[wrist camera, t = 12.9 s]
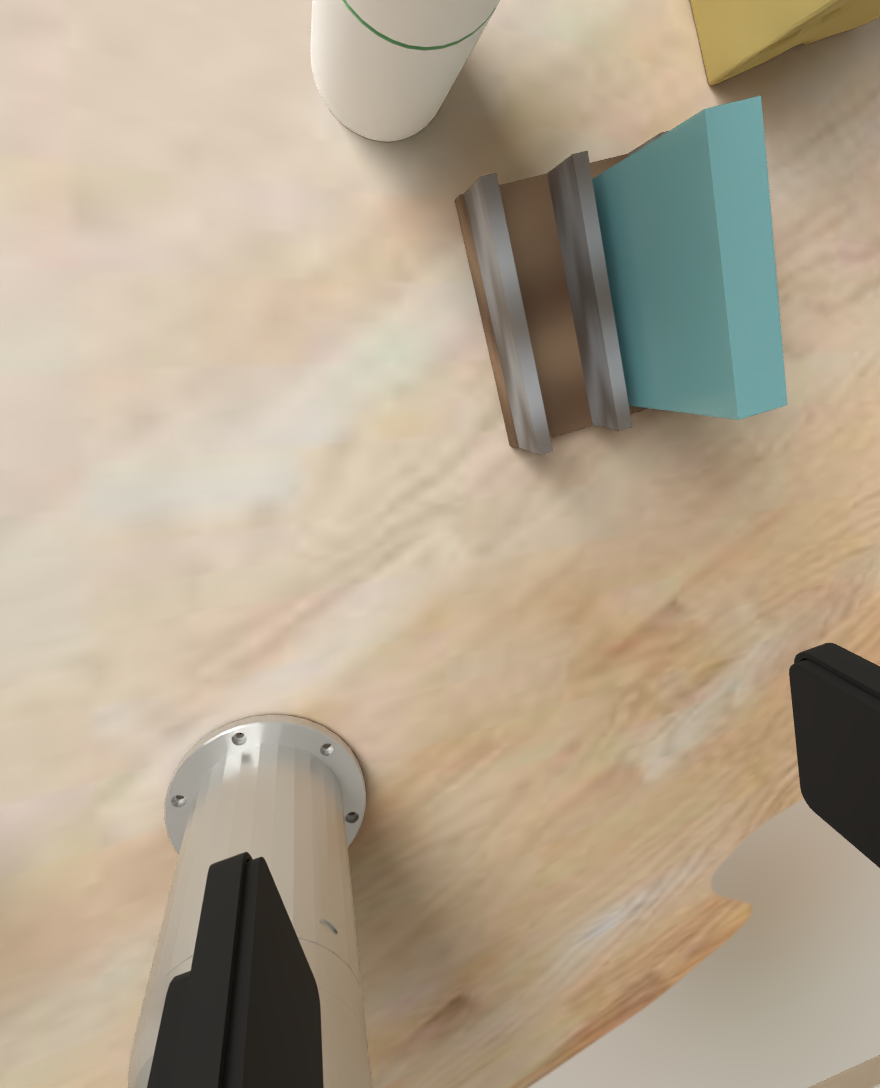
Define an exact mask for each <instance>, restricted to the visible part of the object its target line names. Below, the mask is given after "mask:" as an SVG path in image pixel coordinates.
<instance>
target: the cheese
mask: <svg viewBox="0 0 880 1088" xmlns="http://www.w3.org/2000/svg"><path fill="white" fill-rule="evenodd" d="M690 3H691V7H692V11H693V16H694V20H695V24H696V29H697V33H698V38H699V42H700V47H701V51H702V56H703V60H704V65H705V69H706V74H707V79H708V83H709V85H715V84H718V83H720V82H722V81H725V80H727V79H729V78H731V77H733V76H736V75H738V74H740V73H742V72H744V71H747V70H749V69H751V68H753V67H755V66H757V65H760V64H762V63H764V62H766V61H768V60H770V59H772V58H774V57H776V56H777V55H779V54H781V53H783V52H785V51H787V50H788V49H790V48H792V47H794V46H796V45H798V44H801V43H803V44H809V43H813V42H815V41H818V40H821V39H823V38H826V37H829V36H832V35H835V34H838V33H841V32H845V31H848V30H851V29H854V28H856V27H859V26H862V25H864V24H866V23H869V22H871V21H873V20H875V19H877V18H878V17H880V0H690Z"/></svg>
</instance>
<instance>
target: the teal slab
mask: <svg viewBox="0 0 880 1088" xmlns="http://www.w3.org/2000/svg"><path fill="white" fill-rule="evenodd" d="M592 182H593V188H594V194H595V200H596V206H597V213H598V219H599V225H600V231H601V237H602V243H603V249H604V256H605V262H606V268H607V274H608V280H609V286H610V293H611V299H612V305H613V311H614V317H615V323H616V329H617V336H618V342H619V348H620V354H621V360H622V366H623V372H624V379H625V385H626V391H627V397H628V403H629V406H636V407H644V408H651V409H659V410H667V411H674V412H682V413H690V414H697V415H705V416H713V417H721V418H728V419H736V420H740V419H743V418H746V417H749V416H753V415H756V414H759V413H762V412H766V411H769V410H772V409H776V408H779V407H782V406H785V405H787V395H786V383H785V372H784V360H783V348H782V336H781V325H780V313H779V301H778V289H777V278H776V266H775V254H774V242H773V231H772V219H771V207H770V195H769V183H768V172H767V160H766V148H765V136H764V125H763V113H762V101H761V96H757V97H753V98H749V99H745V100H740V101H736V102H732V103H728V104H724V105H719V106H715V107H711V108H707V109H704V110H702V111H701V112H699V113H697V114H696V115H694V116H693V117H691V118H689V119H688V120H686V121H685V122H683V123H681V124H680V125H678V126H677V127H675V128H673V129H672V130H670V131H669V132H667V133H665V134H664V135H662V136H661V137H659V138H657V139H656V140H654V141H653V142H651V143H649V144H648V145H646V146H645V147H643V148H641V149H640V150H638V151H637V152H635V153H633V154H632V155H630V156H629V157H627V158H625V159H624V160H622V161H621V162H619V163H617V164H616V165H614V166H613V167H611V168H609V169H608V170H606V171H605V172H603V173H601V174H600V175H598V176H597V177H595V178H593V179H592Z"/></svg>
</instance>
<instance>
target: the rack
mask: <svg viewBox="0 0 880 1088" xmlns="http://www.w3.org/2000/svg"><path fill="white" fill-rule="evenodd" d="M667 132H669V131H666V132H662V133H660V134H658V135H657V136H655V137H653V138H652V139H650V140H649V141H647V142H646V143H644V144H642V145H641V146H639V147H638V148H636V149H635V150H633V151H631V152H630V153H628V154H625V155H621V156H617V157H613V158H609V159H605V160H601V161H597V162H592V163H589V157H588V151H584V152H580V153H576V154H572V155H571V156H570V157H568V158H567V159H566V160H564V161H563V162H562V163H560V164H559V165H558V166H556V167H555V168H554V169H553V170H551V171H550V172H549V173H547V174H544V175H540V176H536V177H532V178H527V179H523V180H519V181H515V182H511V183H507V184H503V185H499V184H498V179H497V174H496V173H494V174H490V175H486V176H481V177H480V178H479V179H478V180H477V181H476V182H475V183H474V184H473V185H472V186H471V187H470V188H469V189H468V190H467V191H466V192H465V193H464V194H463V195H460V196H459V197H458V198H457V199H456V200H455V203H456V207H457V212H458V216H459V221H460V225H461V230H462V234H463V239H464V243H465V248H466V252H467V257H468V261H469V265H470V270H471V274H472V279H473V283H474V288H475V292H476V297H477V301H478V306H479V310H480V315H481V319H482V324H483V328H484V332H485V337H486V341H487V346H488V350H489V355H490V359H491V364H492V368H493V373H494V377H495V382H496V386H497V391H498V395H499V400H500V404H501V408H502V413H503V417H504V422H505V426H506V431H507V435H508V440H509V444H510V446H512V447H514V448H518V447H520V448H522V449H525V450H527V451H530V452H533V453H535V454H538V455H541V454H545V453H548V452H551V451H553V449H552V444H551V439H550V438H552V437H555V436H558V435H562V434H565V433H568V432H572V431H575V430H578V429H582V428H585V427H588V426H592V425H594V426H599V427H603V428H608V429H613V430H617V431H621V430H624V429H627V428H631V427H632V422H631V415H630V414H632V413H635V412H639V411H642V410H645V409H649V408H644V407H636V406H629V403H628V397H627V391H626V385H625V379H624V372H623V366H622V360H621V354H620V348H619V342H618V336H617V329H616V323H615V317H614V311H613V305H612V299H611V293H610V286H609V280H608V274H607V268H606V262H605V256H604V249H603V243H602V237H601V231H600V225H599V219H598V213H597V206H596V200H595V194H594V188H593V182H592V179H593V178H595V177H597V176H598V175H600V174H601V173H603V172H605V171H606V170H608V169H609V168H611V167H613V166H614V165H616V164H617V163H619V162H621V161H622V160H624V159H625V158H627V157H629V156H630V155H632V154H633V153H635V152H637V151H638V150H640V149H641V148H643V147H645V146H646V145H648V144H649V143H651V142H653V141H654V140H656V139H657V138H659V137H661V136H662V135H664V134H665V133H667Z"/></svg>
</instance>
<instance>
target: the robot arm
mask: <svg viewBox="0 0 880 1088" xmlns="http://www.w3.org/2000/svg"><path fill="white" fill-rule="evenodd" d="M789 676H790V686H791V696H792V706H793V717H794V727H795V737H796V747H797V757H798V767H799V778H800V788H801V792H802V795H803V797H804V799H805V801H806V803H807V804H808V805H809V807H810V808H811V809H812V810H813V811H814V812H815V813H816V814H817V815H818V816H820V817H821V818H822V819H823V820H824V821H825V822H827V823H828V824H829V825H830V826H831V827H832V828H834V829H835V830H836V831H837V832H838V833H840V834H841V835H842V836H843V837H844V838H845V839H847V840H848V841H849V842H850V843H851V844H852V845H854V846H855V847H856V848H857V849H858V850H859V851H861V852H862V853H863V854H864V855H865V856H866V857H868V858H869V859H870V860H871V861H872V862H873V863H875V864H876V865H877V866H878V867H879V868H880V667H879V666H877V665H876V664H874V663H872V662H870V661H868V660H866V659H864V658H862V657H860V656H858V655H856V654H854V653H852V652H850V651H848V650H846V649H844V648H842V647H840V646H838V645H836V644H833V643H825V644H823V645H820V646H817V647H814V648H811V649H809V650H806V651H803V652H800V653H799V654H797V655H796V657H795V660H794V664H793V665H792V666H791V667H790V669H789ZM237 733H243V734H237ZM324 744H328V745H324ZM365 808H366V789H365V783H364V777H363V773H362V771H361V768H360V765H359V762H358V760H357V758H356V757H355V755H354V754H353V752H352V751H351V749H350V748H349V747H348V745H347V744H346V743H345V742H344V741H343V740H342V739H341V738H340V737H339V736H337V735H336V734H334V733H333V732H331V731H330V730H328V729H327V728H325V727H324V726H321V725H319V724H317V723H314V722H312V721H310V720H307V719H303V718H298V717H294V716H289V715H262V716H254V717H248V718H245V719H241V720H238V721H235V722H231V723H229V724H227V725H225V726H223V727H221V728H219V729H217V730H215V731H213V732H211V733H210V734H209V735H207V736H206V737H204V738H203V739H202V740H200V741H199V742H198V743H197V744H196V745H195V746H194V747H193V748H192V749H191V750H190V751H189V752H188V753H187V754H186V755H185V756H184V758H183V759H182V761H181V762H180V764H179V765H178V767H177V769H176V770H175V772H174V775H173V777H172V780H171V783H170V785H169V788H168V792H167V796H166V799H165V817H164V820H165V825H166V829H167V834H168V837H169V839H170V841H171V843H172V845H173V847H174V849H175V851H176V852H177V854H178V855H179V857H178V861H177V865H176V869H175V873H174V877H173V881H172V885H171V889H170V893H169V897H168V902H167V906H166V910H165V914H164V918H163V922H162V926H161V930H160V934H159V938H158V942H157V946H156V950H155V954H154V958H153V963H152V967H151V971H150V975H149V979H148V983H147V987H146V992H145V995H144V999H143V1004H142V1008H141V1013H140V1016H139V1020H138V1024H137V1028H136V1033H135V1037H134V1041H133V1046H132V1050H131V1056H130V1062H129V1071H128V1088H373V1084H372V1076H371V1068H370V1060H369V1052H368V1043H367V1034H366V1025H365V1015H364V1006H363V993H362V983H361V974H360V964H359V954H358V944H357V934H356V924H355V915H354V905H353V895H352V885H351V875H350V866H349V856H348V847H349V846H350V844H351V843H352V841H353V840H354V839H355V837H356V835H357V833H358V831H359V828H360V826H361V824H362V821H363V817H364V812H365ZM809 1088H880V1055H879V1056H877V1057H874V1058H872V1059H870V1060H868V1061H866V1062H864V1063H861V1064H859V1065H857V1066H855V1067H853V1068H850V1069H848V1070H846V1071H844V1072H841V1073H839V1074H838V1075H835V1076H833V1077H831V1078H828V1079H826V1080H824V1081H822V1082H820V1083H817V1084H815V1085H813V1086H811V1087H809Z"/></svg>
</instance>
